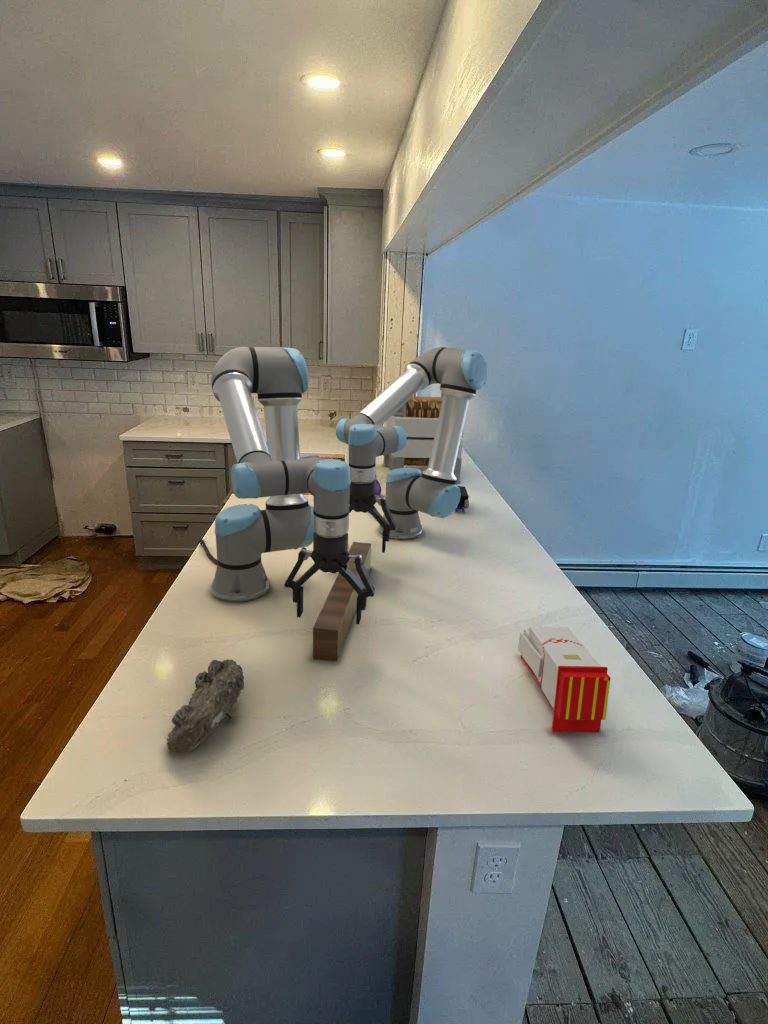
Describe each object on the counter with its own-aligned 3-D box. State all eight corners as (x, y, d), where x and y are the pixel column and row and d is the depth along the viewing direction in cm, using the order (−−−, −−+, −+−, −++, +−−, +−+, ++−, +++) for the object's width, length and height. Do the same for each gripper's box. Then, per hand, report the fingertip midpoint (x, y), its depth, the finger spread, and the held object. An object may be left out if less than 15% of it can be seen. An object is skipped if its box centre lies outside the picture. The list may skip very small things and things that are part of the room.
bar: (352, 565, 174) (353, 541, 171) (370, 567, 173) (371, 543, 170) (312, 659, 127) (312, 627, 124) (337, 661, 127) (337, 630, 124)
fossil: (192, 660, 117) (244, 628, 112) (224, 691, 120) (276, 661, 115) (142, 746, 98) (202, 712, 93) (182, 779, 101) (242, 748, 96)
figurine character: (469, 517, 223) (463, 501, 236) (471, 500, 219) (465, 484, 233) (452, 516, 222) (447, 500, 236) (454, 499, 219) (449, 483, 232)
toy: (564, 611, 133) (619, 673, 103) (558, 664, 135) (611, 739, 106) (512, 610, 132) (554, 672, 103) (508, 663, 135) (547, 738, 106)
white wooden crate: (382, 463, 289) (386, 382, 275) (445, 464, 293) (451, 384, 279) (390, 482, 257) (394, 392, 243) (460, 483, 261) (468, 394, 247)
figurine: (366, 502, 230) (367, 466, 225) (355, 494, 239) (356, 460, 234) (386, 499, 235) (388, 464, 229) (375, 492, 243) (377, 458, 238)
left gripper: (269, 533, 119) (270, 620, 127) (386, 545, 117) (381, 633, 124) (279, 520, 126) (280, 603, 134) (390, 531, 124) (385, 615, 131)
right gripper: (315, 481, 157) (316, 551, 164) (404, 487, 154) (401, 557, 162) (321, 473, 164) (322, 540, 171) (407, 479, 161) (404, 547, 168)
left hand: (329, 617), depth 129 cm, fingers open, 13 cm apart
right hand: (360, 549), depth 166 cm, fingers open, 13 cm apart
